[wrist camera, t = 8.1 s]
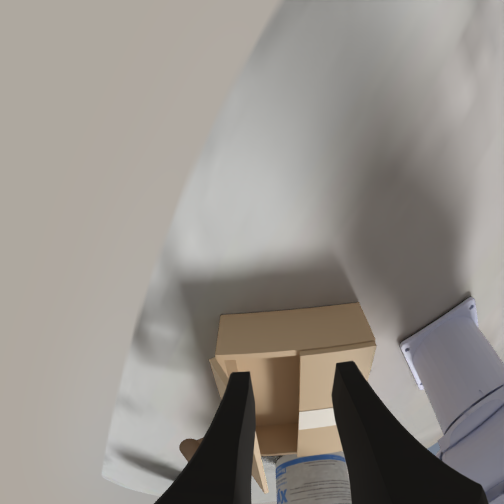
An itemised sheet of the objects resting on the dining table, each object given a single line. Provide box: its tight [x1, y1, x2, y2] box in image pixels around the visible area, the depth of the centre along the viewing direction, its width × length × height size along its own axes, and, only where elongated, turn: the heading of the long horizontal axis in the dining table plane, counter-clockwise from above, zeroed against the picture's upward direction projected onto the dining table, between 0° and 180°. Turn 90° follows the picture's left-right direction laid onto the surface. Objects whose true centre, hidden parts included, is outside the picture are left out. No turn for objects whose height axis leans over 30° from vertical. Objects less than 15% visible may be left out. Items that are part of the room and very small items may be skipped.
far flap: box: [179, 357, 269, 494], centre depth 18 cm, size 5×16×5 cm
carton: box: [215, 302, 376, 457], centre depth 23 cm, size 10×16×4 cm, turn 6°
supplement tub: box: [276, 451, 352, 504], centre depth 27 cm, size 10×10×15 cm
